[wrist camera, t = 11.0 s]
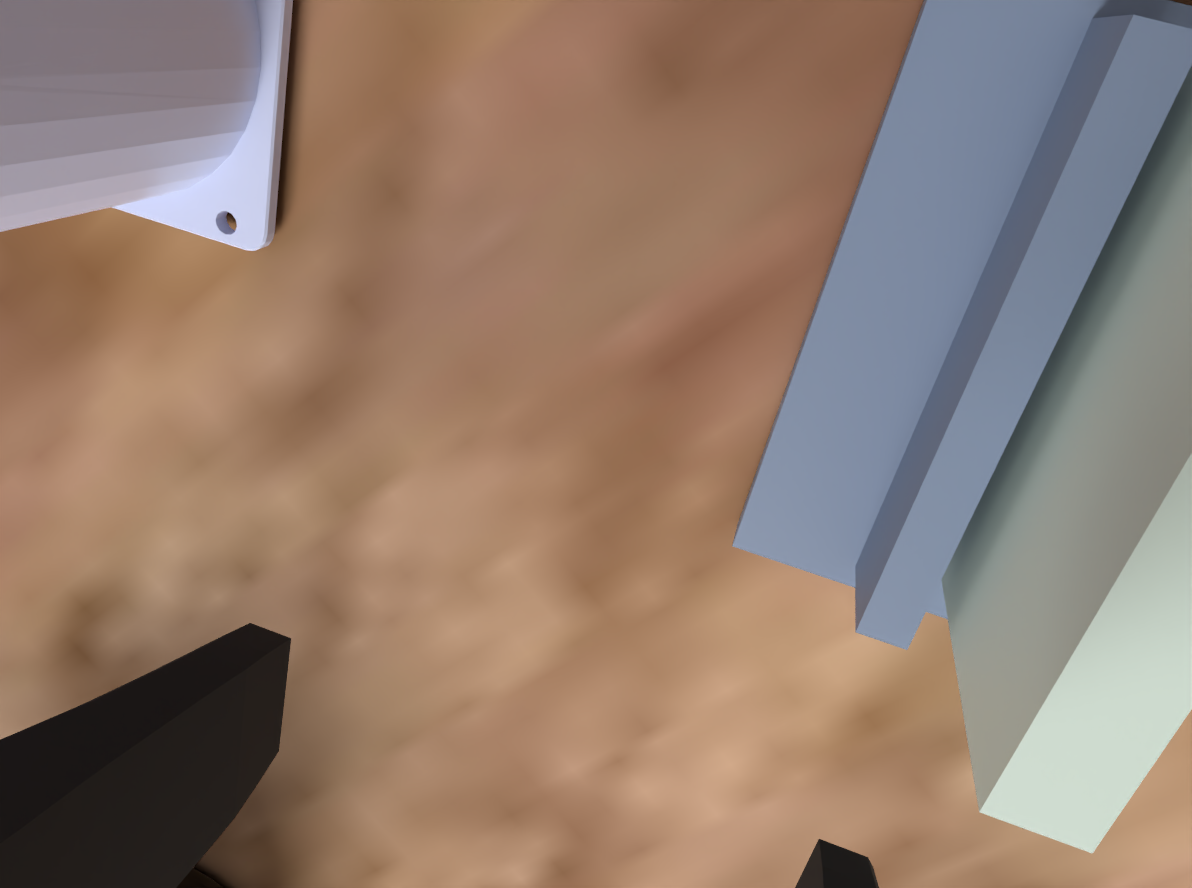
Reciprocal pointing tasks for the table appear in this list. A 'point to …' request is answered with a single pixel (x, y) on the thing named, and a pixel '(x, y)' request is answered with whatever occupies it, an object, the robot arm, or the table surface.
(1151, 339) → the pale green slab
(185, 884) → the ink bottle
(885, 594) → the sheet stand
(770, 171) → the table surface
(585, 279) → the table surface
